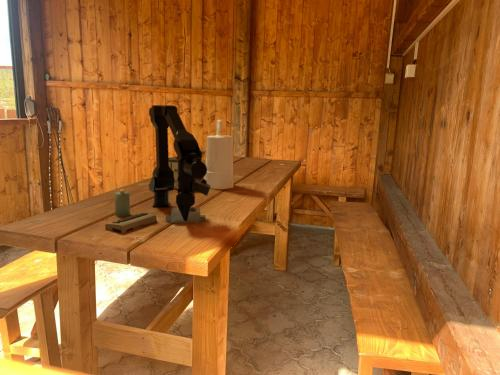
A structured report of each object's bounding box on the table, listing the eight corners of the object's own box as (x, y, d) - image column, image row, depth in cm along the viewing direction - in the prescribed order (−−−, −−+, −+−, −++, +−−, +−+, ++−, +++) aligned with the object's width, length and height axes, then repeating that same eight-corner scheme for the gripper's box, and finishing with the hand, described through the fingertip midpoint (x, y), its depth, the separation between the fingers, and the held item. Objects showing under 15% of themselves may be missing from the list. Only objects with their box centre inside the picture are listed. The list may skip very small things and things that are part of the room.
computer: (140, 218, 139) (139, 209, 139) (157, 222, 136) (157, 213, 135) (104, 230, 126) (104, 220, 125) (122, 235, 122) (122, 225, 121)
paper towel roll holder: (237, 188, 194) (239, 121, 187) (208, 189, 189) (209, 120, 182) (227, 182, 208) (229, 119, 201) (200, 183, 202) (201, 118, 196)
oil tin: (116, 212, 144) (116, 188, 143) (130, 212, 145) (130, 188, 143) (114, 216, 140) (113, 191, 138) (128, 216, 140) (128, 191, 138)
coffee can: (182, 183, 200) (182, 156, 198) (191, 187, 192) (191, 159, 189) (163, 185, 195) (163, 157, 192) (171, 189, 186) (171, 160, 184)
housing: (165, 223, 134) (165, 210, 133) (166, 218, 140) (166, 205, 139) (205, 222, 136) (206, 210, 135) (205, 217, 142) (205, 205, 141)
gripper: (210, 179, 127) (209, 224, 130) (208, 169, 145) (207, 210, 148) (175, 178, 125) (175, 225, 128) (177, 169, 143) (177, 210, 147)
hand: (185, 217), depth 138 cm, fingers open, 9 cm apart
